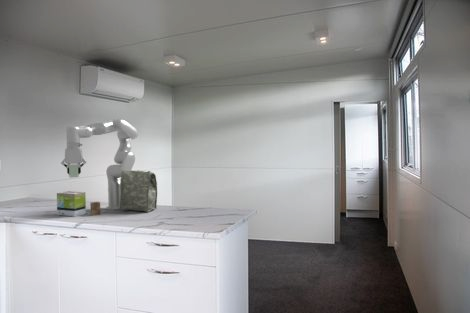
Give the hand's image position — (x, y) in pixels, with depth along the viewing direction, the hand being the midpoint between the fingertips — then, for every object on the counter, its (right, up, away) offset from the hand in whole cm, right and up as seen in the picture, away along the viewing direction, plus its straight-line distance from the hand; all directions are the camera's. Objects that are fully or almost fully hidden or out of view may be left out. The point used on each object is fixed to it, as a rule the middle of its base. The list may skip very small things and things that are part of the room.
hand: (74, 174), depth 216 cm
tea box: (-5, -27, +7) cm, 29 cm away
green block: (0, -2, 0) cm, 2 cm away
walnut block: (+11, -27, +6) cm, 30 cm away
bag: (+35, -26, +20) cm, 48 cm away
